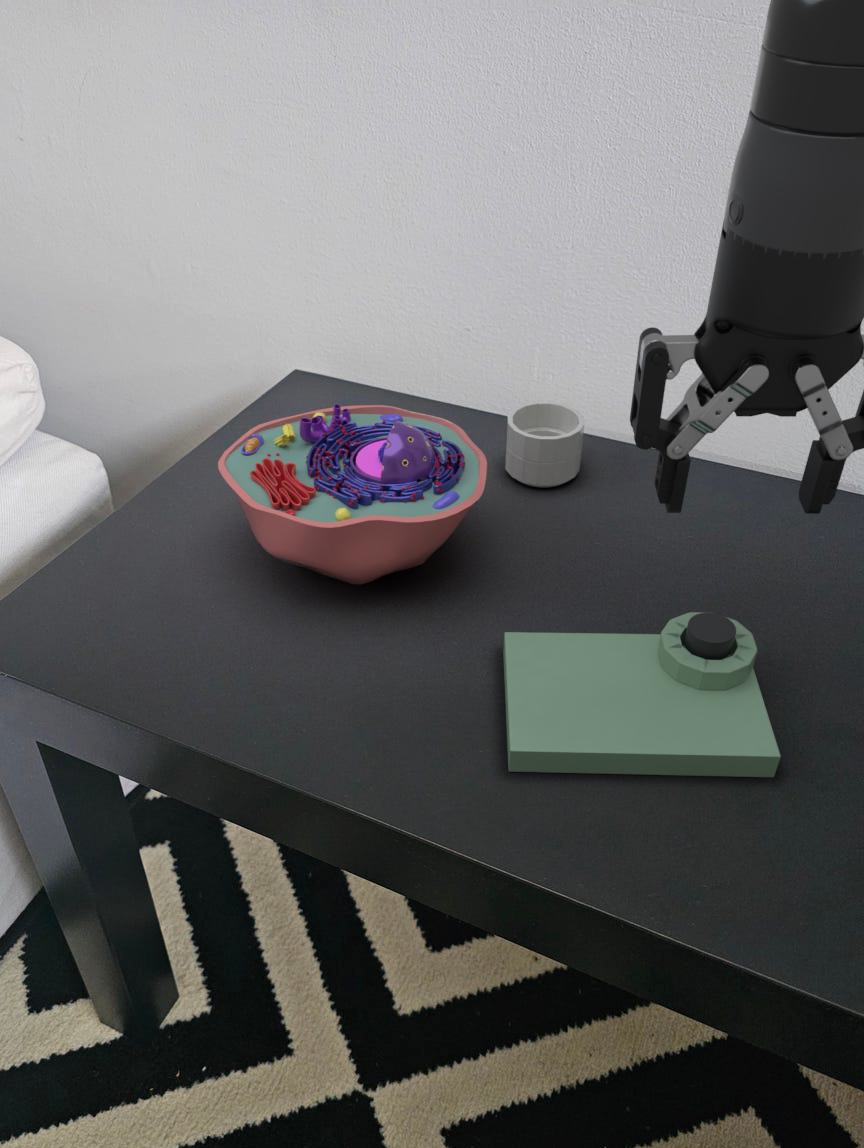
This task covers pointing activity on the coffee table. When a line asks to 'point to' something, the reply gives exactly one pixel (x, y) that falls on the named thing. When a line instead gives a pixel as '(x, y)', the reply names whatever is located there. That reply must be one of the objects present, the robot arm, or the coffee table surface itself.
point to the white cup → (544, 443)
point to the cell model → (355, 487)
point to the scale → (635, 705)
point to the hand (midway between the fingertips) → (739, 505)
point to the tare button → (710, 636)
